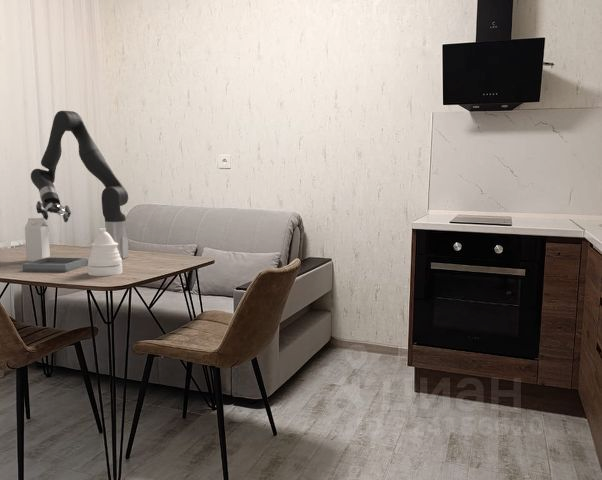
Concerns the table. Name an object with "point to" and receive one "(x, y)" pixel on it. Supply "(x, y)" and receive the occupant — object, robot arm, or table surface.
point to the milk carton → (37, 239)
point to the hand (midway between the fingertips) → (56, 219)
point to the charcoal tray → (54, 264)
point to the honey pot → (104, 256)
